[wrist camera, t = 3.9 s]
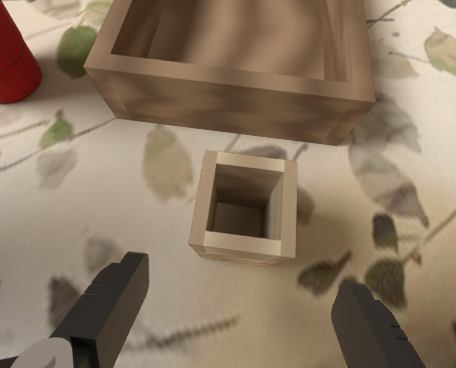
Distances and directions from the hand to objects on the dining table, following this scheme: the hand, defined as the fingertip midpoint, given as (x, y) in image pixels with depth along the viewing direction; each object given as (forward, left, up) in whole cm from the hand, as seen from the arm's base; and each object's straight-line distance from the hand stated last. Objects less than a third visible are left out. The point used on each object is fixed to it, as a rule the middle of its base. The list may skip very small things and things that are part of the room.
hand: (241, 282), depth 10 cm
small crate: (0, +4, -9) cm, 10 cm away
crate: (-2, +24, -9) cm, 25 cm away
